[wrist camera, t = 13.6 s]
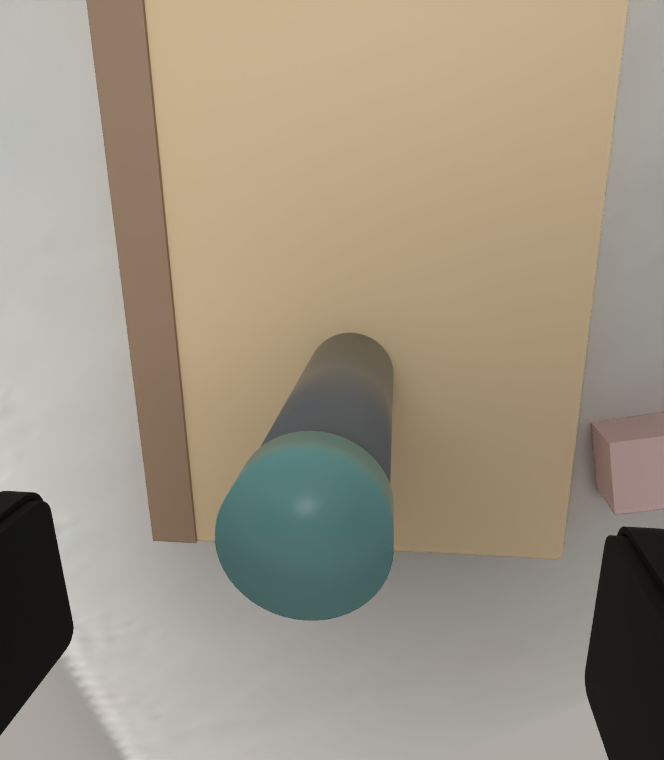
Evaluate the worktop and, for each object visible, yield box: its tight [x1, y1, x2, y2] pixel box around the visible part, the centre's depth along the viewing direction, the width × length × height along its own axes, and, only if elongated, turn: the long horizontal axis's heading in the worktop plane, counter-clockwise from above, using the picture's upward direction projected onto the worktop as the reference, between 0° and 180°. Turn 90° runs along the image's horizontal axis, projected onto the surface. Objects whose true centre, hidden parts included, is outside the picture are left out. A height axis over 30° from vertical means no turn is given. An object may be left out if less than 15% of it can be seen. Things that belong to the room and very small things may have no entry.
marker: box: [215, 333, 394, 620], centre depth 17 cm, size 4×4×12 cm
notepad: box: [86, 0, 629, 559], centre depth 22 cm, size 18×24×1 cm
